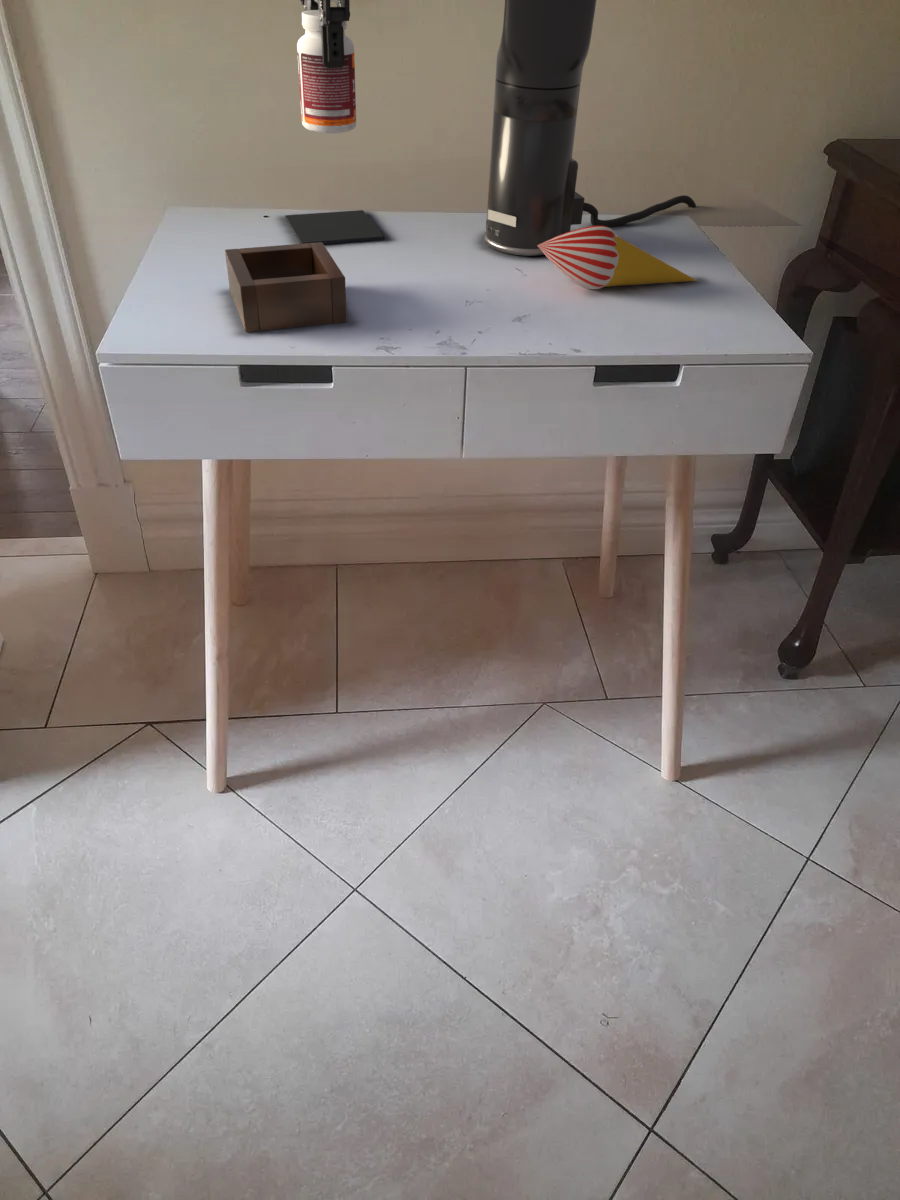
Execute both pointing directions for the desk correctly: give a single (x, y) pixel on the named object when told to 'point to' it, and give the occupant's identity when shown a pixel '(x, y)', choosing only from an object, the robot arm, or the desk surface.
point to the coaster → (333, 227)
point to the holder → (286, 286)
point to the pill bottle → (325, 82)
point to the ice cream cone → (606, 260)
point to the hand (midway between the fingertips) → (326, 60)
